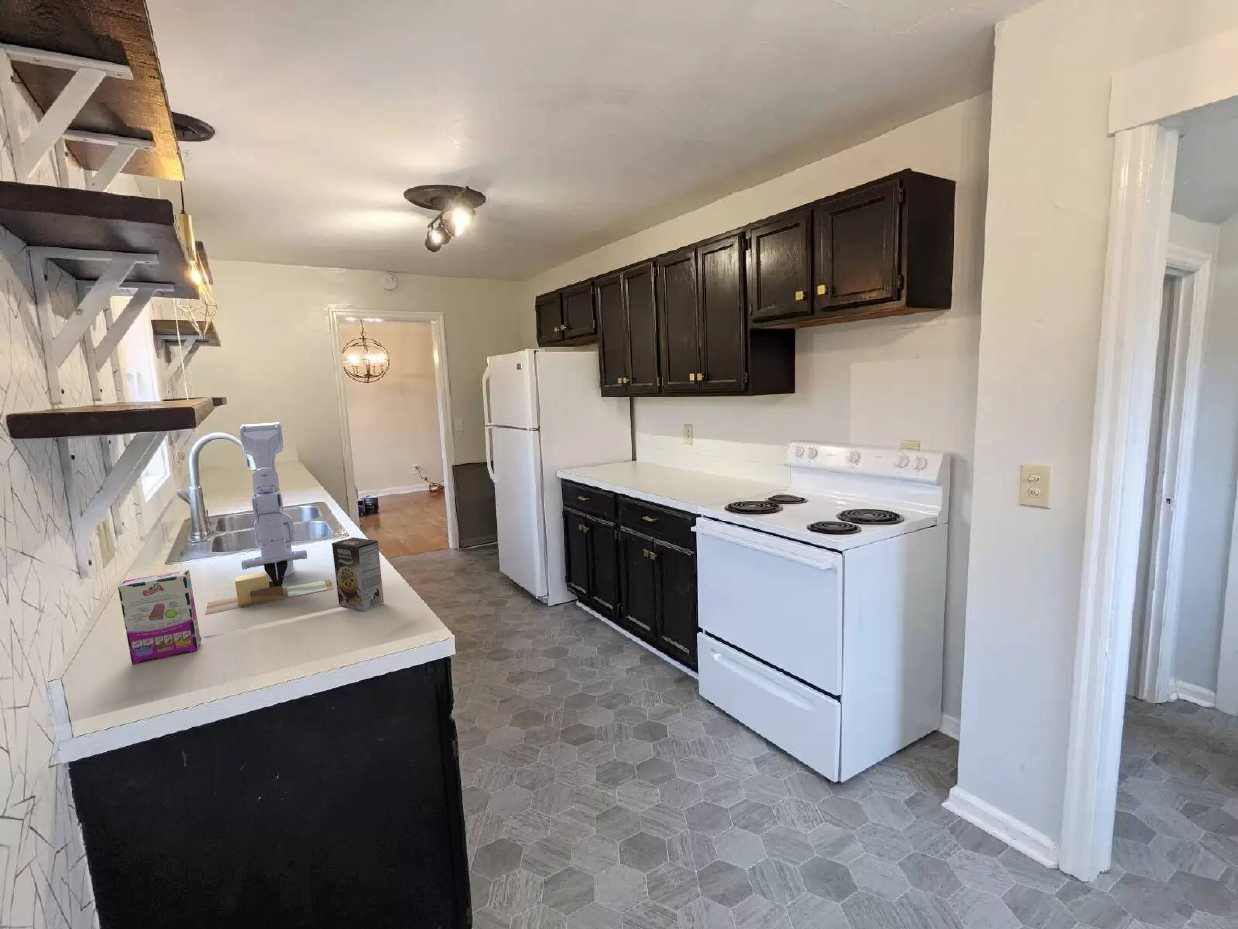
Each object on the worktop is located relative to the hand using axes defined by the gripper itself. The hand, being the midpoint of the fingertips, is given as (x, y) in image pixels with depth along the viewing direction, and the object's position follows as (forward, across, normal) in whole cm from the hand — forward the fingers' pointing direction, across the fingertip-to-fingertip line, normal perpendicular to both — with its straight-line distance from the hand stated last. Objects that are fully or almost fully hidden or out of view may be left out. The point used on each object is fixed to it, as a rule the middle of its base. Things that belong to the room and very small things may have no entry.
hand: (279, 590), depth 155 cm
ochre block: (+1, -6, 0) cm, 6 cm away
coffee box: (+2, +17, -20) cm, 26 cm away
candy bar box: (+2, -21, -24) cm, 32 cm away
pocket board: (+2, -2, 0) cm, 2 cm away
